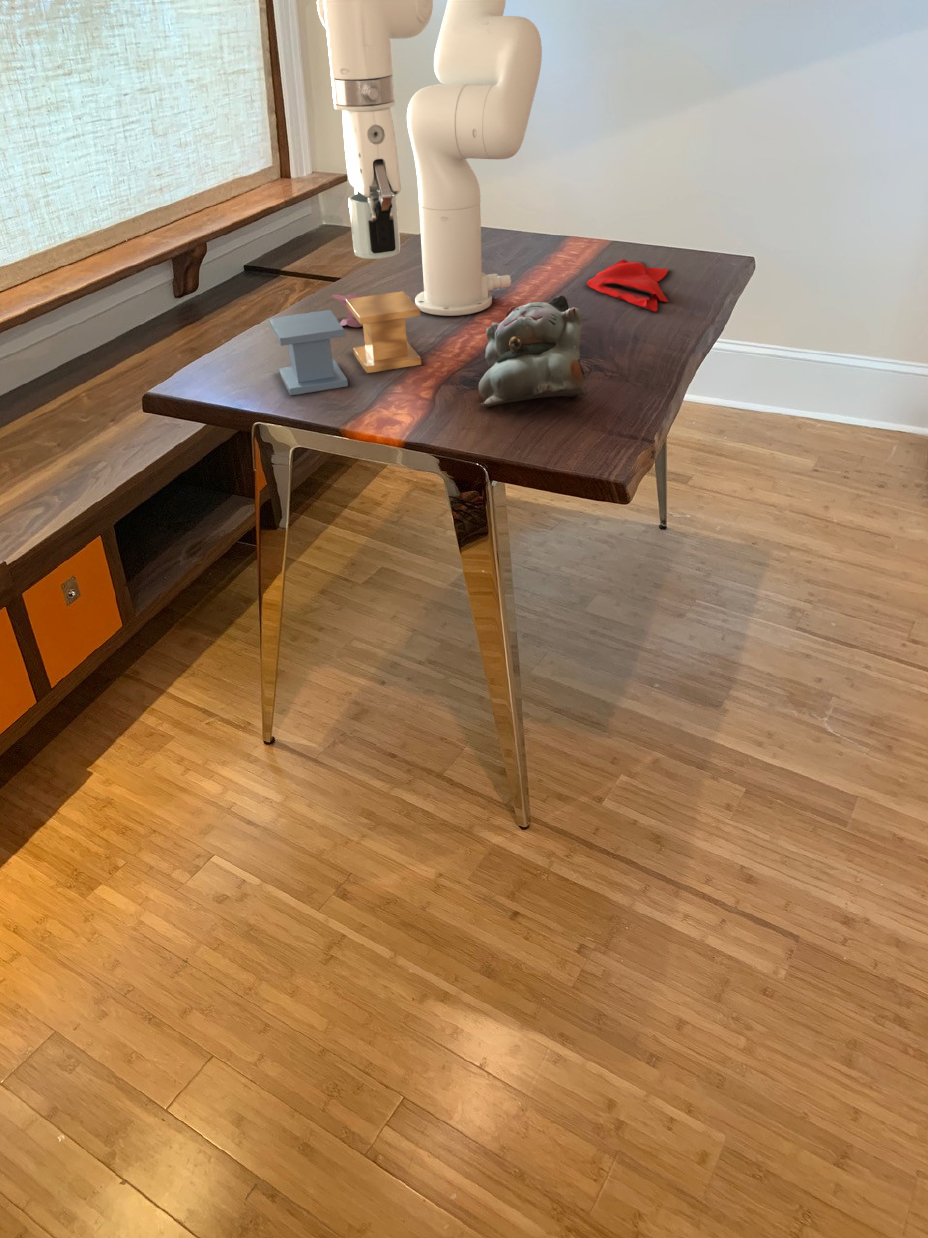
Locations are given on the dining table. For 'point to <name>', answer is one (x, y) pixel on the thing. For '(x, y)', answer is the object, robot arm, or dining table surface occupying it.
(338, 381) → the blue stand
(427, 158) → the robot arm
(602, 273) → the cloth
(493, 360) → the lucky cat figurine
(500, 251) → the dining table surface
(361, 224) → the container
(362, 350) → the maple stand
